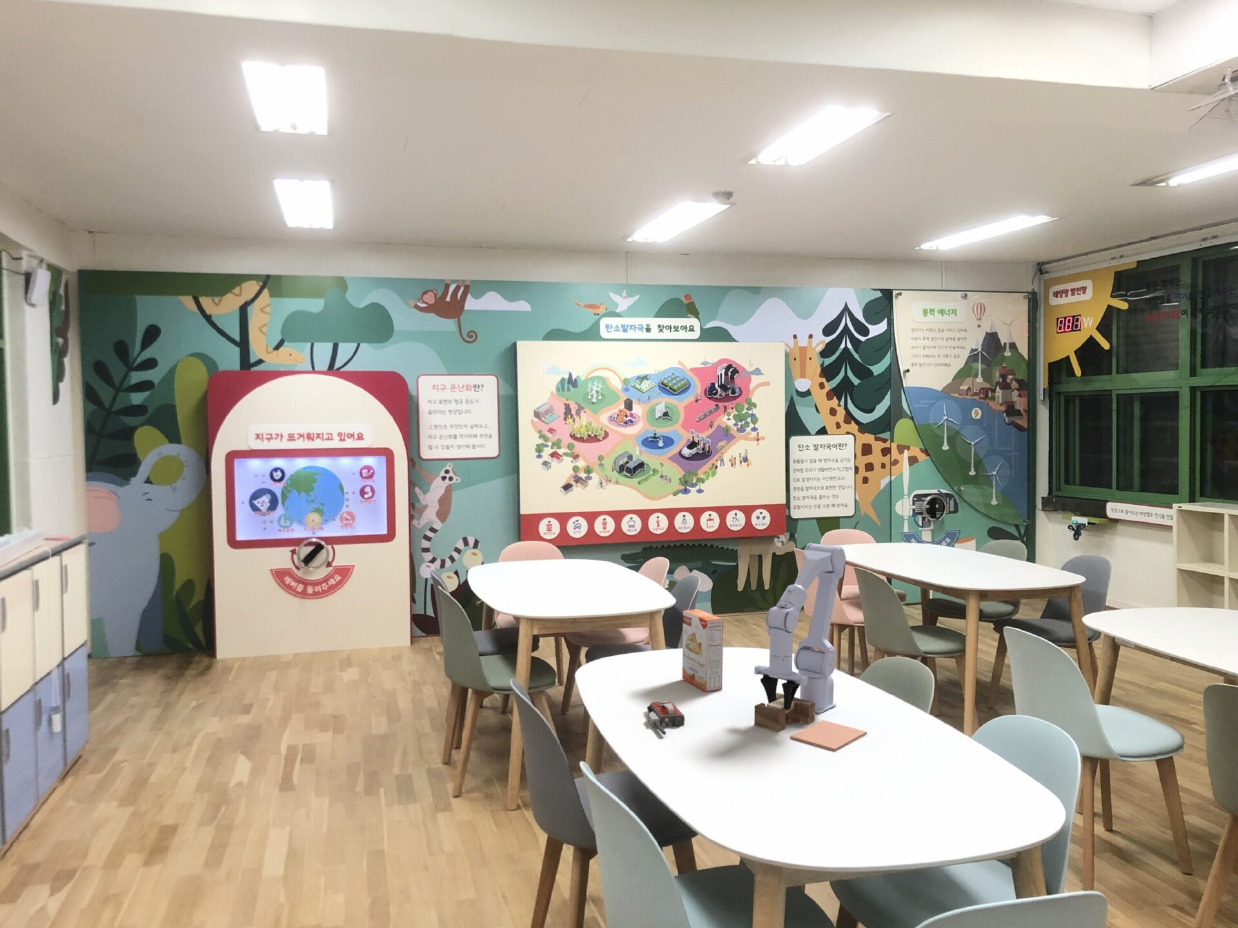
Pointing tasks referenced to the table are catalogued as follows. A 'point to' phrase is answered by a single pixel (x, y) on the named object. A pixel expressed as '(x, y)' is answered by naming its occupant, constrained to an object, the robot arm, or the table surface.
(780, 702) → the slab
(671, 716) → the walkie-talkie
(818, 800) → the table surface
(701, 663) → the cracker box
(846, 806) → the table surface
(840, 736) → the mat
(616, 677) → the table surface
